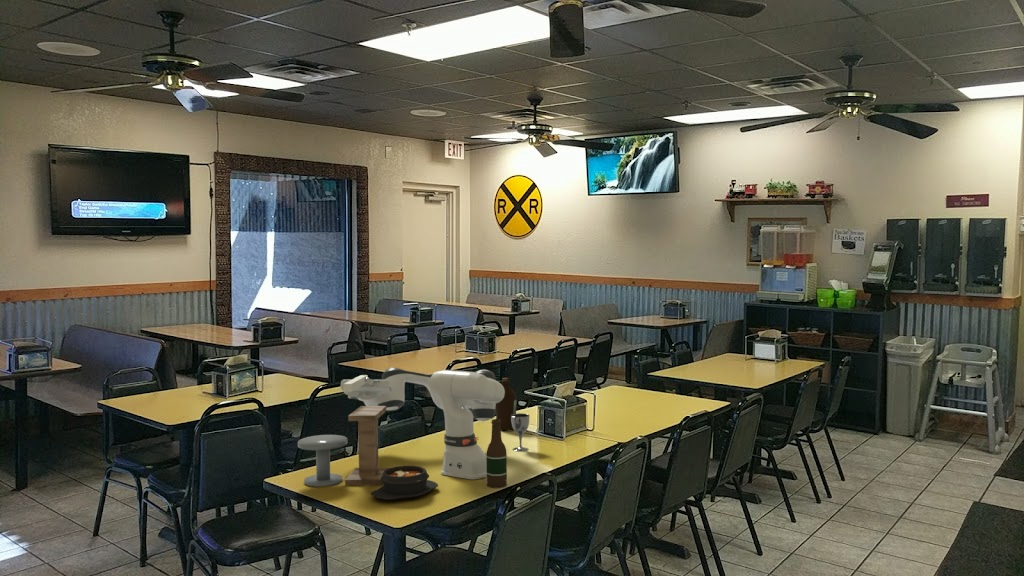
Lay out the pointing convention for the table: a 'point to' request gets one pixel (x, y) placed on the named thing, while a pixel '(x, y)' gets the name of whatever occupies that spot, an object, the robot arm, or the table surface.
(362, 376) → the bar
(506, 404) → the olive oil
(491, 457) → the beer bottle
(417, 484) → the casserole
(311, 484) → the cake stand
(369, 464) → the walnut stand
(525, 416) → the wine glass
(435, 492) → the table surface
